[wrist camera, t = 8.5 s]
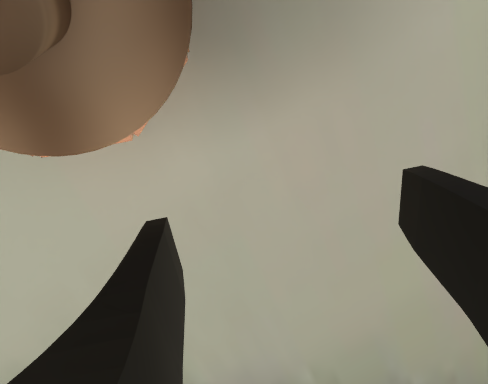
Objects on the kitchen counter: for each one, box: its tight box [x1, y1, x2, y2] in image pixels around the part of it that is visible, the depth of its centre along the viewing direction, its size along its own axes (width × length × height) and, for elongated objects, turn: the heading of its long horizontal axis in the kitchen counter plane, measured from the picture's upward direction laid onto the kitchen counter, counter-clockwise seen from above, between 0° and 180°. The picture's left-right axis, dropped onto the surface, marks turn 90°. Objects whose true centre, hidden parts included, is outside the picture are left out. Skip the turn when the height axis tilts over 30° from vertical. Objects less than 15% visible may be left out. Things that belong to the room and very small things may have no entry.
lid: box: [0, 0, 192, 156], centre depth 12 cm, size 11×11×4 cm
